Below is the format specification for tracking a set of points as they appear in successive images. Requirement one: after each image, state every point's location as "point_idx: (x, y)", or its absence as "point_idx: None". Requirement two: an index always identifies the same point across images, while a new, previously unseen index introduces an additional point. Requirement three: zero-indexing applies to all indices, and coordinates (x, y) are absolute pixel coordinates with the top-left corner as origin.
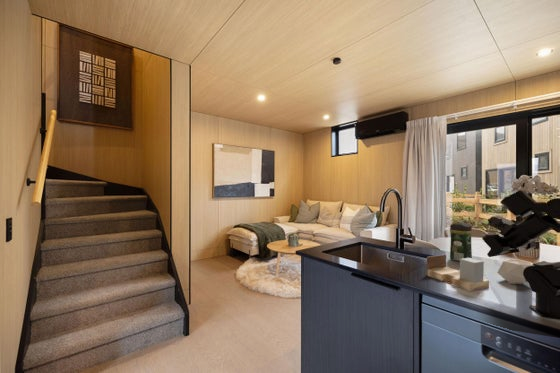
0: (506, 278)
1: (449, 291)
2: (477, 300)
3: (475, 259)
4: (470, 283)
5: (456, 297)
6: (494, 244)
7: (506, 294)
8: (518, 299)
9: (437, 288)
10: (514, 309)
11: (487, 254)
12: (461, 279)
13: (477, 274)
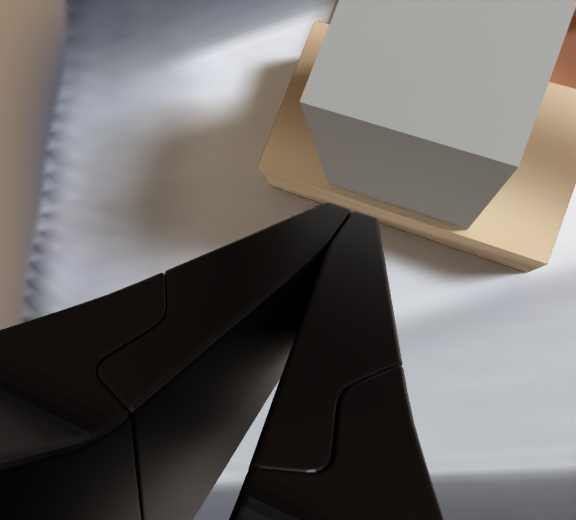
0: None
1: (152, 90)
2: (118, 269)
3: (550, 53)
4: (279, 167)
5: (70, 158)
6: None
7: (440, 410)
8: None
9: (149, 16)
10: None
11: (323, 211)
12: None
13: (374, 177)
